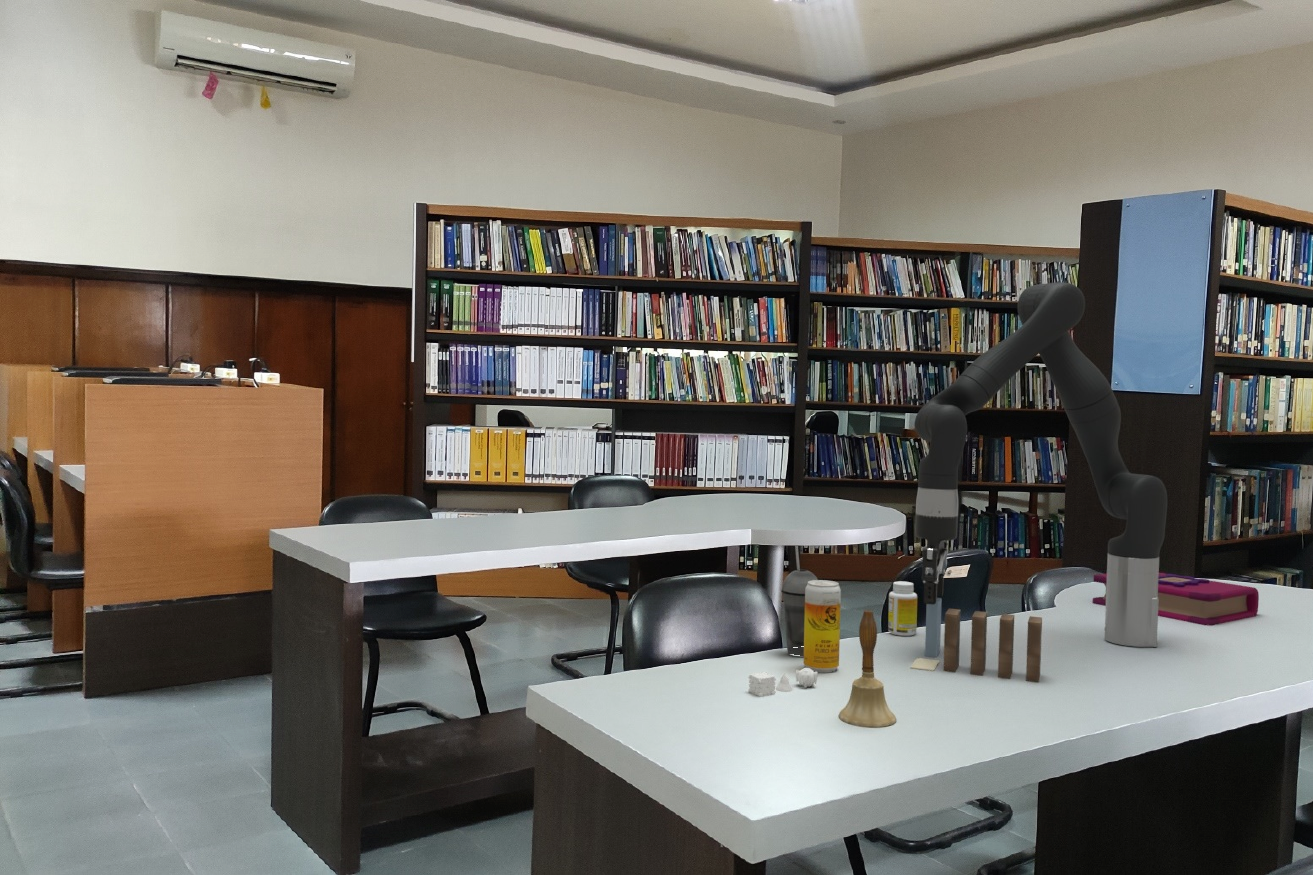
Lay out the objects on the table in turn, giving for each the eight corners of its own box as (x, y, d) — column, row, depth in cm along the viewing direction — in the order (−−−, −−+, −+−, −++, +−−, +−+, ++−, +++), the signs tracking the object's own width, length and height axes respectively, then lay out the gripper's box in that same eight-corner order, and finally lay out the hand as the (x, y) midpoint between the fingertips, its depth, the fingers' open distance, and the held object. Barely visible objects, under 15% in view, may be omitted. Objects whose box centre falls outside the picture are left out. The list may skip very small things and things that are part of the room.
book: (1140, 596, 251) (1141, 565, 250) (1258, 617, 227) (1259, 584, 227) (1089, 604, 239) (1090, 572, 239) (1208, 628, 216) (1210, 592, 215)
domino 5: (1040, 675, 174) (1042, 617, 174) (1038, 682, 169) (1040, 623, 169) (1027, 673, 175) (1029, 616, 174) (1025, 680, 170) (1027, 621, 170)
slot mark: (939, 661, 182) (939, 660, 182) (933, 670, 175) (933, 669, 175) (916, 659, 183) (916, 657, 183) (910, 668, 177) (910, 667, 177)
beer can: (817, 674, 171) (819, 587, 171) (796, 666, 177) (798, 581, 176) (846, 671, 174) (848, 584, 174) (824, 662, 180) (826, 578, 179)
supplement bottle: (922, 634, 203) (923, 583, 203) (904, 638, 200) (906, 586, 199) (899, 629, 207) (900, 579, 207) (882, 632, 204) (883, 582, 203)
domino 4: (1012, 671, 176) (1014, 614, 175) (1010, 678, 171) (1012, 620, 171) (1000, 670, 177) (1002, 613, 176) (997, 677, 172) (999, 619, 172)
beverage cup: (810, 661, 180) (813, 549, 179) (773, 655, 184) (775, 546, 183) (826, 653, 186) (828, 545, 186) (789, 647, 190) (792, 541, 189)
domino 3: (985, 668, 178) (987, 612, 177) (982, 675, 173) (984, 617, 173) (973, 667, 178) (975, 611, 178) (970, 674, 174) (972, 616, 173)
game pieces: (760, 699, 158) (760, 679, 158) (748, 693, 161) (748, 673, 161) (820, 688, 164) (821, 669, 164) (808, 683, 167) (808, 664, 167)
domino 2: (958, 665, 179) (960, 609, 179) (955, 672, 175) (957, 614, 174) (947, 664, 180) (948, 608, 180) (943, 670, 176) (945, 613, 175)
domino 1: (940, 651, 189) (941, 598, 189) (936, 657, 185) (937, 603, 184) (929, 650, 190) (930, 597, 190) (924, 656, 186) (926, 602, 185)
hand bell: (860, 730, 143) (863, 618, 142) (827, 713, 150) (830, 607, 150) (908, 723, 146) (911, 614, 146) (873, 707, 154) (876, 603, 153)
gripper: (952, 517, 178) (949, 609, 179) (962, 510, 191) (959, 595, 192) (909, 514, 181) (906, 604, 182) (922, 508, 194) (918, 591, 195)
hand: (933, 600), depth 187 cm, fingers open, 8 cm apart
